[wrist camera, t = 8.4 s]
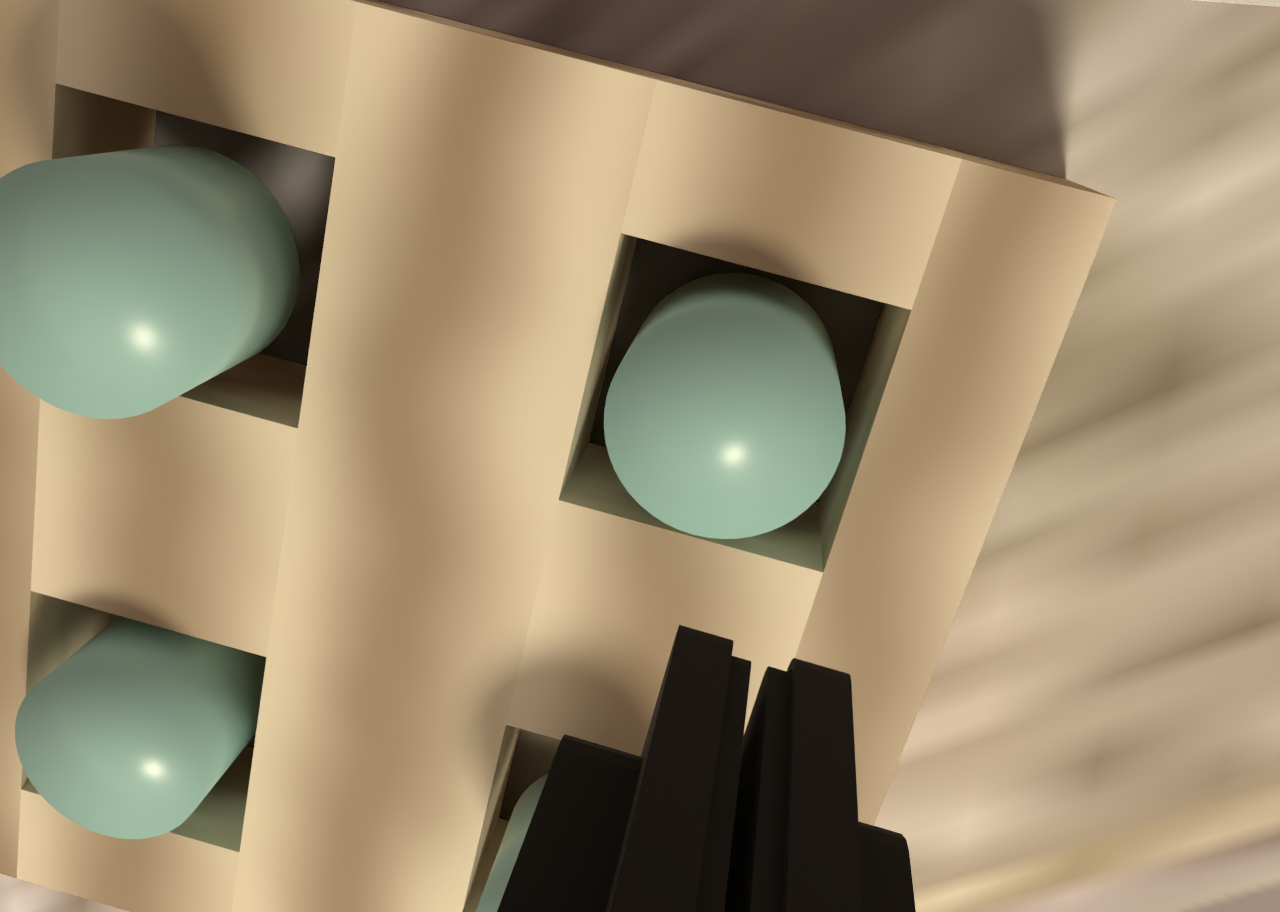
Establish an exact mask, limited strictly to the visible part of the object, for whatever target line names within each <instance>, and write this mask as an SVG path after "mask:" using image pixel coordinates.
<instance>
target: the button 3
mask: <svg viewBox="0 0 1280 912" xmlns="http://www.w3.org/2000/svg"><path fill="white" fill-rule="evenodd" d="M548 774H549V773H547V774H545V775H544V776H542V777H540V778H539V779H538V780H536V781H535V782H534V783H532V784H531V785H530V786H529V787H528V788H527V789H526V790H525V791H524V793H523V794H522V795H521V797H520V798H519V800H518V801H517V803H516V805H515V807H514V809H513V812H512V815H511V818H510V820H509V823H508V826H507V829H506V831H505V834H504V837H503V839H502V842H501V845H500V848H499V850H498V853H497V856H496V859H495V861H494V864H493V867H492V869H491V872H490V875H489V878H488V880H487V883H486V886H485V888H484V891H483V894H482V897H481V899H480V902H479V905H478V908H477V910H476V912H497V910H498V908H499V905H500V902H501V900H502V897H503V894H504V892H505V889H506V886H507V883H508V881H509V878H510V875H511V873H512V870H513V867H514V865H515V862H516V859H517V857H518V854H519V851H520V849H521V846H522V843H523V841H524V838H525V835H526V833H527V830H528V827H529V825H530V822H531V819H532V817H533V814H534V811H535V809H536V806H537V803H538V800H539V798H540V795H541V792H542V790H543V787H544V784H545V782H546V779H547V776H548Z"/></svg>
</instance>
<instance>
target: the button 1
mask: <svg viewBox="0 0 1280 912" xmlns="http://www.w3.org/2000/svg"><path fill="white" fill-rule="evenodd" d="M299 275H300V271H299V257H298V252H297V247H296V242H295V239H294V236H293V233H292V230H291V227H290V225H289V223H288V221H287V218H286V216H285V214H284V212H283V211H282V209H281V207H280V206H279V204H278V202H277V201H276V200H275V198H274V197H273V196H272V194H271V193H270V192H269V190H268V189H267V188H266V187H265V186H264V185H263V184H262V183H261V182H260V181H259V180H258V179H257V178H256V177H255V176H254V175H253V174H252V173H250V172H249V171H248V170H247V169H246V168H244V167H243V166H241V165H240V164H238V163H236V162H235V161H233V160H232V159H230V158H228V157H226V156H224V155H222V154H219V153H217V152H214V151H211V150H208V149H205V148H201V147H196V146H191V145H165V146H156V147H148V148H140V149H132V150H124V151H116V152H107V153H99V154H91V155H83V156H75V157H67V158H58V159H50V160H42V161H38V162H34V163H30V164H26V165H24V166H22V167H19V168H17V169H15V170H12V171H11V172H9V173H8V174H6V175H5V176H3V177H1V178H0V365H1V366H2V367H3V368H4V370H5V371H6V372H7V373H8V374H9V375H11V376H12V377H13V378H14V379H15V380H16V381H17V382H18V383H19V384H20V385H22V386H23V387H24V388H26V389H27V390H28V391H29V392H31V393H32V394H34V395H35V396H37V397H39V398H40V399H42V400H43V401H45V402H47V403H49V404H51V405H53V406H55V407H57V408H59V409H62V410H65V411H68V412H71V413H73V414H76V415H81V416H86V417H90V418H100V419H120V418H127V417H132V416H137V415H140V414H143V413H146V412H149V411H152V410H153V409H155V408H157V407H159V406H161V405H163V404H165V403H166V402H168V401H170V400H172V399H174V398H176V397H178V396H179V395H181V394H183V393H185V392H187V391H189V390H191V389H192V388H194V387H196V386H198V385H200V384H202V383H204V382H205V381H207V380H209V379H211V378H213V377H215V376H217V375H218V374H220V373H222V372H224V371H226V370H228V369H230V368H231V367H233V366H235V365H237V364H239V363H241V362H243V361H244V360H246V359H248V358H250V357H252V356H254V355H256V354H257V353H259V352H260V351H262V350H263V349H264V348H266V347H267V346H268V345H270V344H271V343H272V342H273V340H274V339H275V338H276V337H277V336H278V335H279V334H280V332H281V331H282V330H283V328H284V327H285V325H286V324H287V322H288V320H289V318H290V316H291V314H292V311H293V308H294V305H295V302H296V298H297V293H298V288H299Z"/></svg>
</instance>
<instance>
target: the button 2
mask: <svg viewBox="0 0 1280 912" xmlns="http://www.w3.org/2000/svg"><path fill="white" fill-rule="evenodd" d="M265 664H266V657H264V656H260V655H257V654H253V653H250V652H246V651H243V650H239V649H236V648H232V647H229V646H225V645H221V644H218V643H214V642H211V641H207V640H204V639H200V638H197V637H193V636H190V635H186V634H182V633H179V632H175V631H172V630H168V629H165V628H161V627H158V626H154V625H151V624H147V623H143V622H140V621H136V620H133V619H129V618H126V617H122V616H119V617H117V618H116V619H115V620H114V621H113V622H111V623H110V624H109V625H108V626H106V627H105V628H104V629H103V630H102V631H100V632H99V633H98V634H97V635H96V636H94V637H93V638H92V639H91V640H89V641H88V642H87V643H86V644H85V645H83V646H82V647H81V648H80V649H78V650H77V651H76V652H75V653H74V654H72V655H71V656H70V657H69V658H68V659H66V660H65V661H64V662H63V663H61V664H60V665H59V666H58V667H57V668H55V669H54V670H53V671H52V672H50V673H49V674H48V675H47V676H46V677H44V678H43V679H42V680H41V681H40V682H38V683H37V684H36V685H35V686H34V687H33V688H32V689H31V690H30V691H29V692H28V694H27V695H26V696H25V698H24V699H23V701H22V703H21V705H20V707H19V710H18V713H17V717H16V722H15V743H16V748H17V753H18V756H19V759H20V762H21V764H22V767H23V769H24V771H25V773H26V775H27V776H28V778H29V780H30V781H31V783H32V785H33V786H34V787H35V789H36V790H37V791H38V792H39V794H40V795H41V796H42V797H43V798H44V799H45V800H46V801H47V802H48V803H49V804H50V805H51V806H52V807H53V808H54V809H56V810H57V811H58V812H59V813H61V814H62V815H63V816H65V817H66V818H68V819H69V820H71V821H73V822H74V823H76V824H78V825H80V826H82V827H84V828H86V829H88V830H90V831H93V832H96V833H99V834H102V835H106V836H110V837H114V838H122V839H144V838H151V837H155V836H159V835H162V834H164V833H167V832H169V831H171V830H173V829H175V828H176V827H178V826H180V825H181V824H182V823H183V822H184V821H185V820H187V819H188V817H189V816H190V815H191V814H192V813H193V812H194V810H195V809H196V808H197V807H198V805H199V804H200V803H201V802H202V800H203V799H204V798H205V796H206V795H207V794H208V793H209V791H210V790H211V789H212V788H213V786H214V785H215V784H216V783H217V781H218V780H219V779H220V778H221V776H222V775H223V774H224V773H225V771H226V770H227V769H228V768H229V766H230V765H231V764H232V763H233V761H234V760H235V759H236V758H237V756H238V755H239V754H240V753H241V751H242V750H243V749H244V748H245V746H246V745H247V744H248V743H249V741H250V740H251V739H252V738H253V736H254V735H255V734H256V729H257V722H258V715H259V708H260V700H261V693H262V686H263V679H264V672H265Z"/></svg>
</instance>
